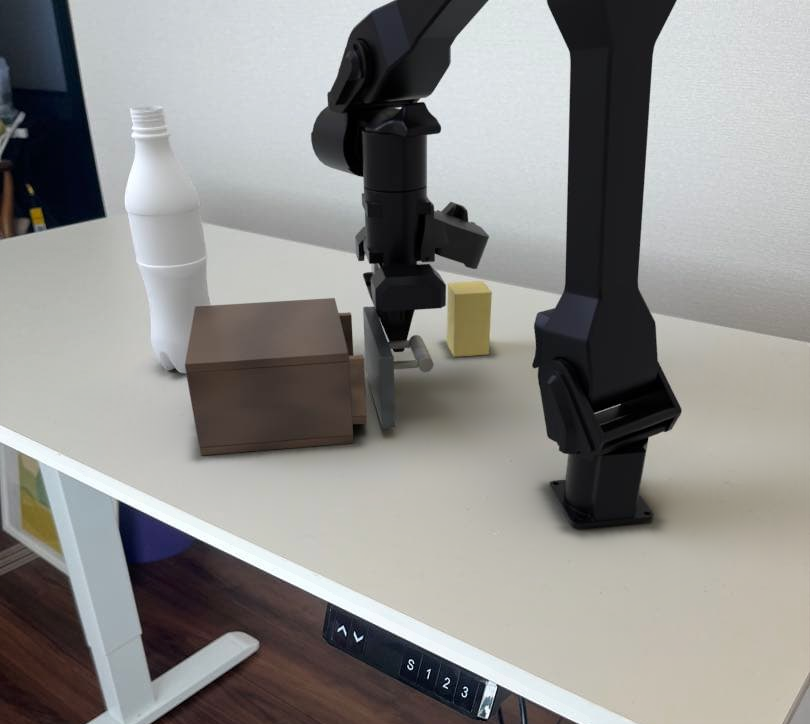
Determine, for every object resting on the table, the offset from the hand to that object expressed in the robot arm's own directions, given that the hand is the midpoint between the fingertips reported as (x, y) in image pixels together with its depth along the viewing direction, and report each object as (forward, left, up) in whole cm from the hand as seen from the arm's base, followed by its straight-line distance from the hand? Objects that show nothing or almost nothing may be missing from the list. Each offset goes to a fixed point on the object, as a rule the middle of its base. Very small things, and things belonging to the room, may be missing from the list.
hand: (398, 350), depth 83 cm
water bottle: (+9, +22, -4) cm, 24 cm away
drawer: (-5, +6, -3) cm, 8 cm away
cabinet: (-5, +13, -4) cm, 14 cm away
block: (+8, -9, -4) cm, 12 cm away
